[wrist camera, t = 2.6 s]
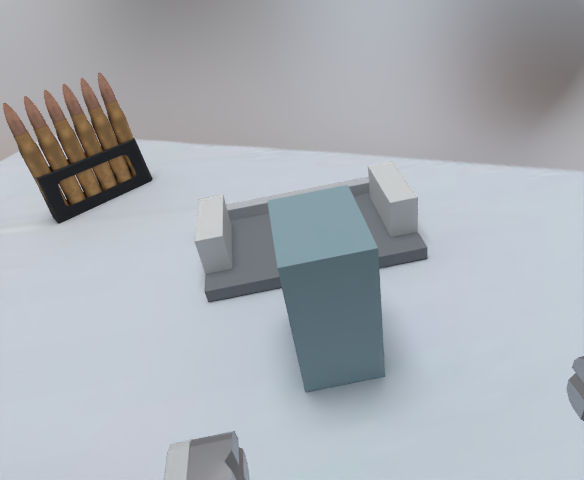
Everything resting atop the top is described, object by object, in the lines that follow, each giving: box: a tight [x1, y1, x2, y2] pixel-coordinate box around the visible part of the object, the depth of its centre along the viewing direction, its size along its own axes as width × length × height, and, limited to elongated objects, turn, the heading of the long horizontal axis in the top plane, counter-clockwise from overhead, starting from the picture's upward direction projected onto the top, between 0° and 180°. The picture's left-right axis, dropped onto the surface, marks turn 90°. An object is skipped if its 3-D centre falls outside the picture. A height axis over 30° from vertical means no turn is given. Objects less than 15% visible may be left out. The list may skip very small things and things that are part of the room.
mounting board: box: [195, 161, 427, 302], centre depth 35 cm, size 16×10×4 cm, turn 97°
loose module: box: [267, 185, 385, 392], centre depth 25 cm, size 4×6×9 cm
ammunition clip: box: [3, 73, 152, 224], centre depth 45 cm, size 11×2×12 cm, turn 131°
